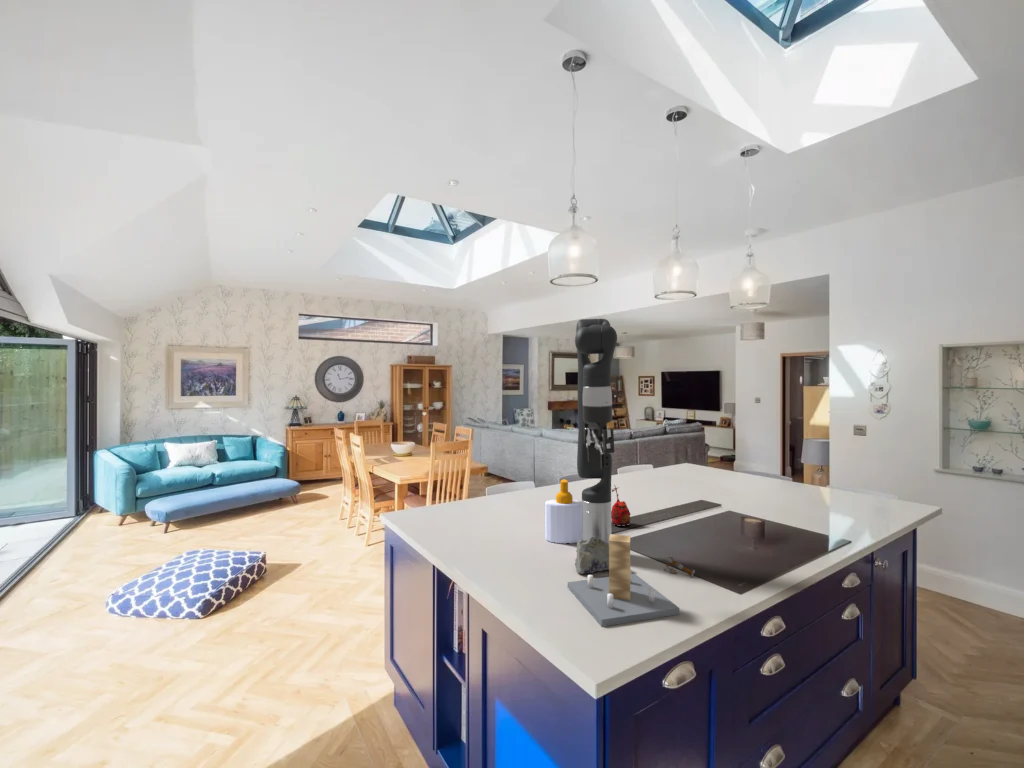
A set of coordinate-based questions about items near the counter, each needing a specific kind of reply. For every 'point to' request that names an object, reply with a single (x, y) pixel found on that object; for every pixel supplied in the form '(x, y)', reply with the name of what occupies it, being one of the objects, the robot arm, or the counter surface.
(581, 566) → the mineral rock
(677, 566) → the orange grey jointed piece
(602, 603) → the peg board
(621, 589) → the oak post
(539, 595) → the counter surface
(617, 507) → the red clay folk toy
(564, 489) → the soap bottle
